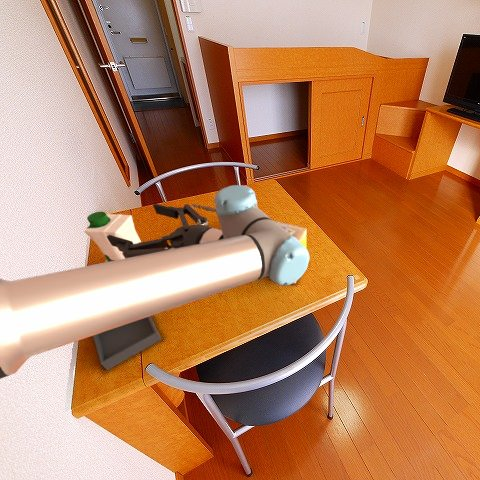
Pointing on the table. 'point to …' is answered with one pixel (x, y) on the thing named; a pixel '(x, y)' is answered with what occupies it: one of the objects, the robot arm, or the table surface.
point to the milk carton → (111, 232)
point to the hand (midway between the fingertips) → (134, 223)
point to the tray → (125, 341)
